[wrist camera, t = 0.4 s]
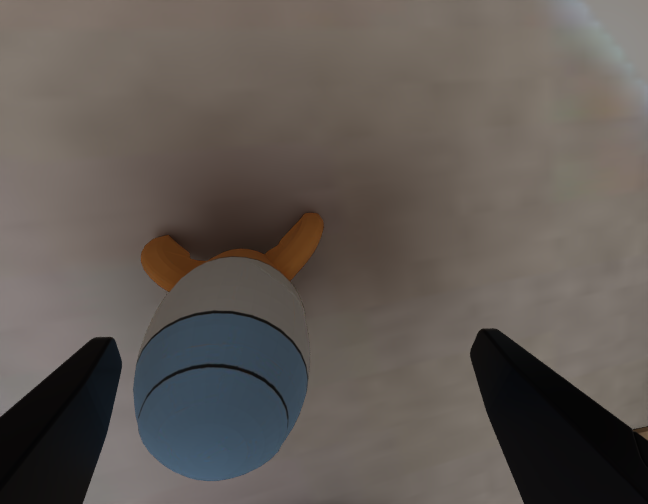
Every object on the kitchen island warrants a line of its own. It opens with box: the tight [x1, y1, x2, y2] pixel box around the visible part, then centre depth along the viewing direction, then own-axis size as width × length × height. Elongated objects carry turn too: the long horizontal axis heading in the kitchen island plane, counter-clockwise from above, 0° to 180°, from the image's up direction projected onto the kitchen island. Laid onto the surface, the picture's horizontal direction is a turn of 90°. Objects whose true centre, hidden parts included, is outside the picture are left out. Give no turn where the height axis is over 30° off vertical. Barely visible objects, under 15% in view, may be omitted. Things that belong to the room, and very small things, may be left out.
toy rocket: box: [133, 213, 324, 481], centre depth 20 cm, size 10×11×15 cm
